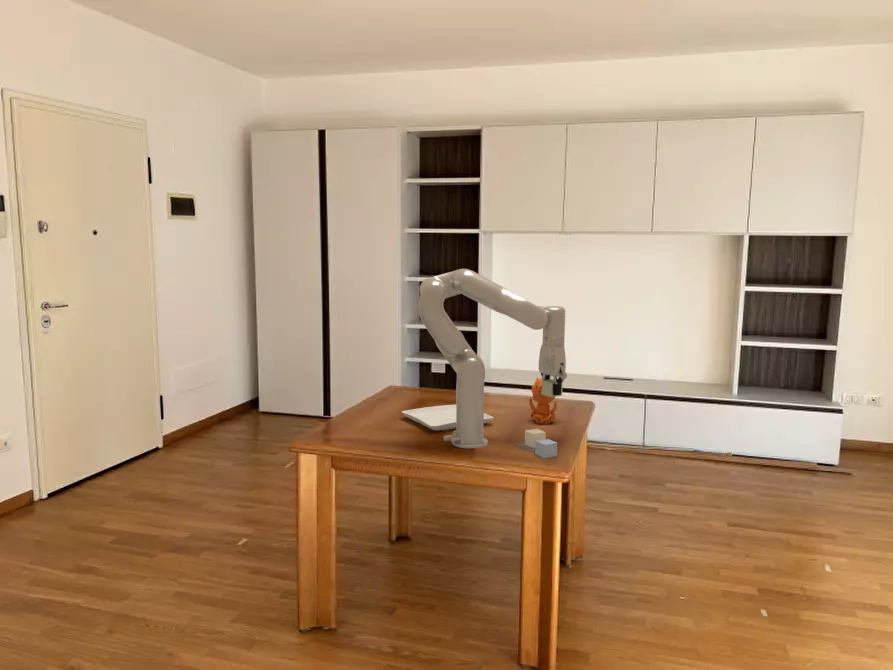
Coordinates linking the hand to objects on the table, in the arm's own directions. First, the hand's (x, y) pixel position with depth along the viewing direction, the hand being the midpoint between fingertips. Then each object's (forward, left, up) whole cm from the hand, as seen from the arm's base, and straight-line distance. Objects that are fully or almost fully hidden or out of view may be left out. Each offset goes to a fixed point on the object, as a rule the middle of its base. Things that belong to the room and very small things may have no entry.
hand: (551, 392), depth 244 cm
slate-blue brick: (-12, -14, -17) cm, 25 cm away
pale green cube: (0, 0, -1) cm, 1 cm away
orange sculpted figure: (+13, +22, -17) cm, 31 cm away
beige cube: (-9, -3, -17) cm, 19 cm away
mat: (-9, -3, -17) cm, 20 cm away
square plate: (-20, +40, -18) cm, 48 cm away
